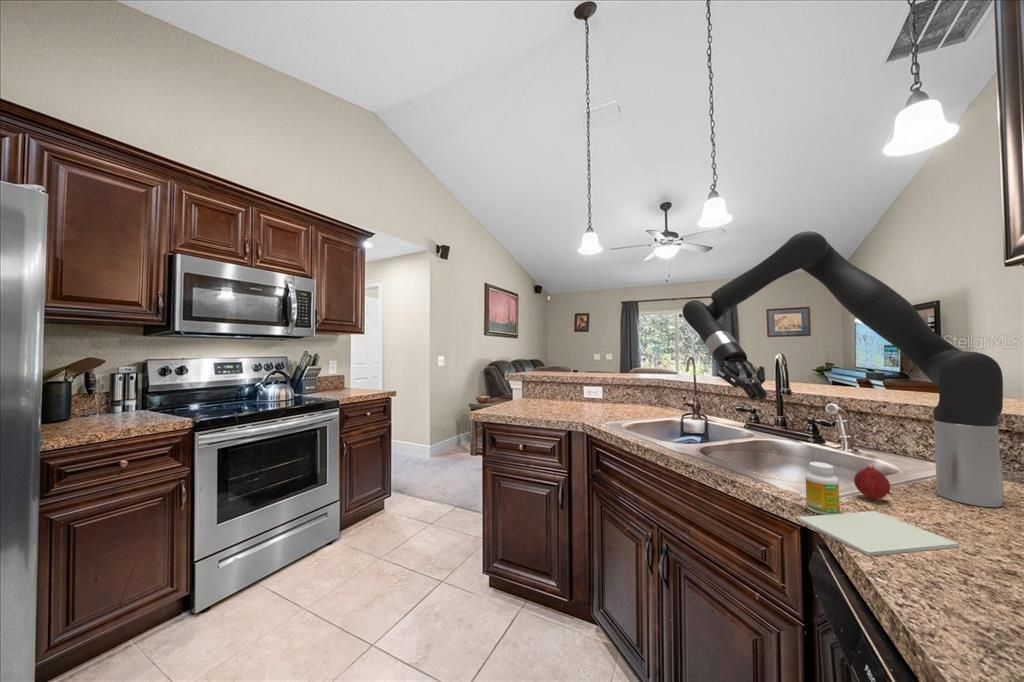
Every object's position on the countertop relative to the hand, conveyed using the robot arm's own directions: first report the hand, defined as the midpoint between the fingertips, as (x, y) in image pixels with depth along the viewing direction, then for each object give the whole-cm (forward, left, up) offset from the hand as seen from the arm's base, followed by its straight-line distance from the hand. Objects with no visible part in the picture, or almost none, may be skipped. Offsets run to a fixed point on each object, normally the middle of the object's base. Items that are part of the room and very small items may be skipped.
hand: (759, 397), depth 94 cm
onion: (-16, +13, -22) cm, 30 cm away
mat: (0, +25, -22) cm, 34 cm away
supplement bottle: (0, +16, -22) cm, 27 cm away
